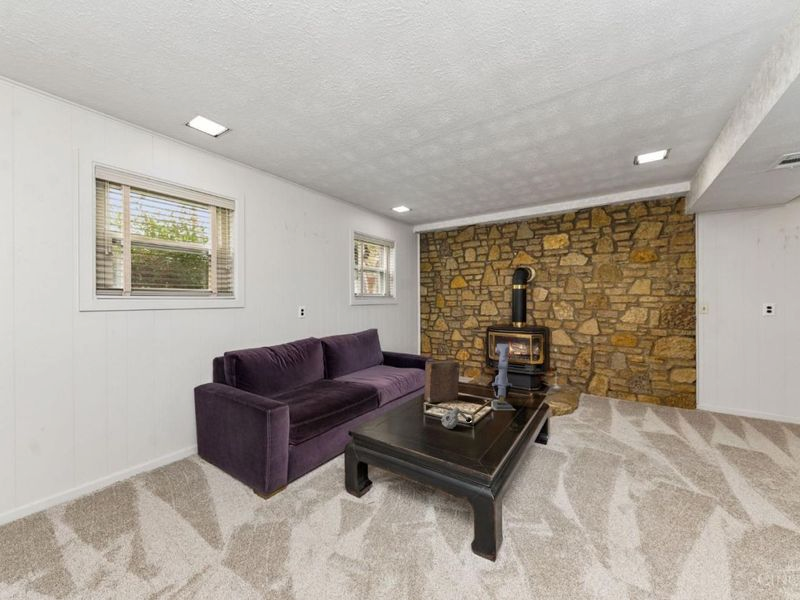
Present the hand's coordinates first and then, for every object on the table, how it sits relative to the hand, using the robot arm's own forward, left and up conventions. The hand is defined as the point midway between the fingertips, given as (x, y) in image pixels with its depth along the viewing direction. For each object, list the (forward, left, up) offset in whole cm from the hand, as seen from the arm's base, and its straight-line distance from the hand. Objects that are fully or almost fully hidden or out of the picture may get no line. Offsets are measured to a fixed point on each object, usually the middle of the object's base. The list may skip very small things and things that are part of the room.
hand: (501, 395), depth 249 cm
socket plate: (-4, 0, -9) cm, 10 cm away
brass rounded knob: (0, 0, -8) cm, 8 cm away
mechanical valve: (+32, -42, -9) cm, 54 cm away
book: (-17, -41, -9) cm, 46 cm away
